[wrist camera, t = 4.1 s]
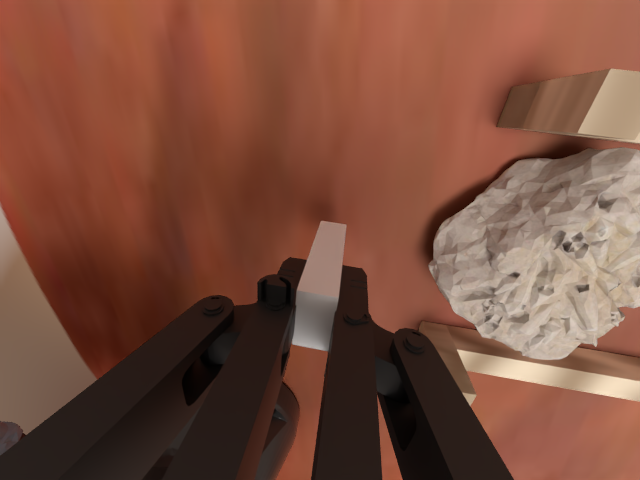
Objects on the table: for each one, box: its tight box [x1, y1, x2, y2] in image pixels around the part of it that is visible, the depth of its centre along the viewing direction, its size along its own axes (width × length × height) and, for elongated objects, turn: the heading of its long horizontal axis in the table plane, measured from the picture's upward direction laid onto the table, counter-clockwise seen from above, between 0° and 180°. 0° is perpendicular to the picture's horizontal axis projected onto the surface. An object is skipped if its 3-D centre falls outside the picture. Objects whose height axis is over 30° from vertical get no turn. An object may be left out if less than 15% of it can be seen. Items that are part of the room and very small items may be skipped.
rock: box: [428, 147, 640, 360], centre depth 15 cm, size 11×11×6 cm
